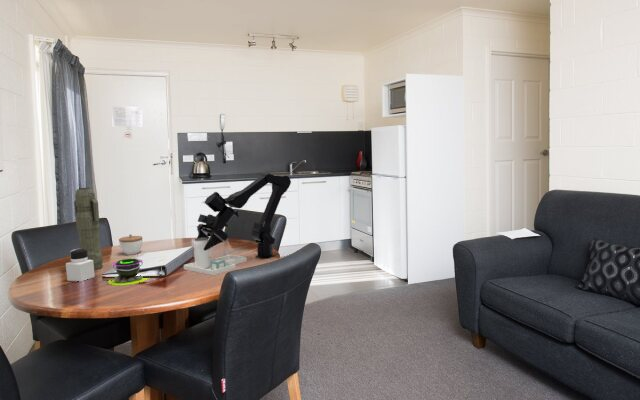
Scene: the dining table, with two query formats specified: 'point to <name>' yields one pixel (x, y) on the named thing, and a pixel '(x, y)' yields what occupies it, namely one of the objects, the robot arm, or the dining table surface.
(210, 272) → the long tray
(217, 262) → the letter cube
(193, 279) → the dining table surface
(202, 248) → the can
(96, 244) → the thermos
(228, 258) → the small tray
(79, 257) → the medicine bottle
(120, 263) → the toy cauldron
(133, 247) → the lidded jar
